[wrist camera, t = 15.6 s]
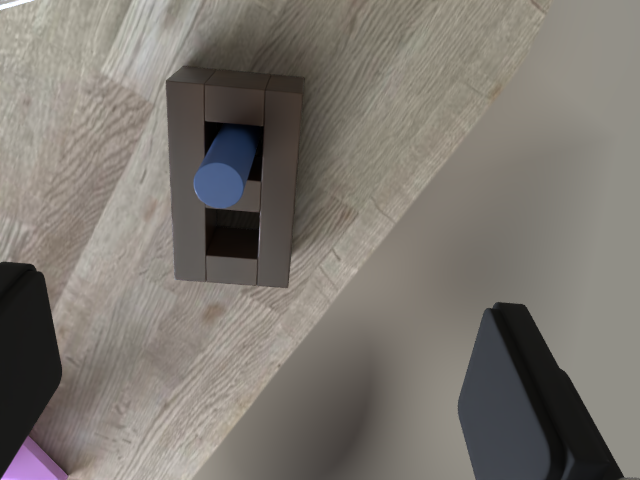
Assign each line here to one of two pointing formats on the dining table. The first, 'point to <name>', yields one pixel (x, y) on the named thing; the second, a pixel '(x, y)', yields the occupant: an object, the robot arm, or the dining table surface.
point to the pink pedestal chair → (33, 465)
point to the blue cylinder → (227, 165)
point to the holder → (262, 184)
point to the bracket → (11, 3)
